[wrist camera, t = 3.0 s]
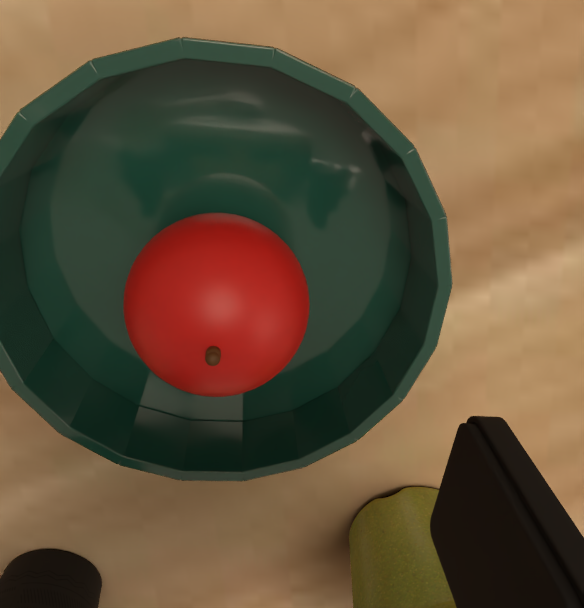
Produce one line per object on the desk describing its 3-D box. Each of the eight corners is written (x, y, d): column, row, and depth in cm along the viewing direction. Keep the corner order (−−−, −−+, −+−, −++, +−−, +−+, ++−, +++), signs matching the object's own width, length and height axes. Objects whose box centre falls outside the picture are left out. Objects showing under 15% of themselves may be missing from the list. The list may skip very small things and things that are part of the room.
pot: (39, 417, 22) (4, 479, 19) (-21, 16, 15) (-90, 7, 12) (381, 426, 23) (402, 483, 20) (459, 68, 17) (507, 72, 14)
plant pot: (359, 439, 24) (414, 628, 16) (528, 479, 26) (651, 663, 18) (291, 570, 27) (309, 775, 20) (444, 595, 29) (515, 790, 22)
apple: (144, 334, 20) (104, 446, 14) (139, 185, 17) (87, 250, 12) (292, 341, 20) (310, 450, 15) (308, 198, 18) (337, 265, 12)
